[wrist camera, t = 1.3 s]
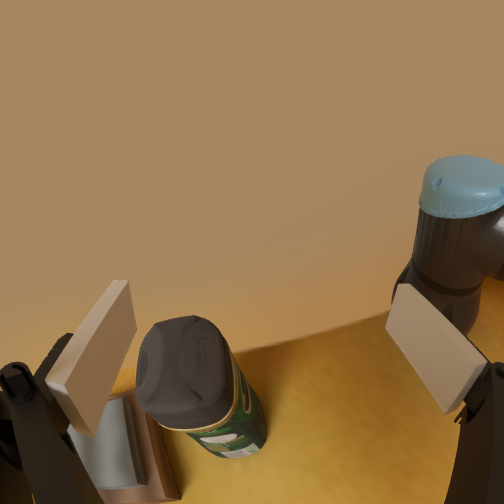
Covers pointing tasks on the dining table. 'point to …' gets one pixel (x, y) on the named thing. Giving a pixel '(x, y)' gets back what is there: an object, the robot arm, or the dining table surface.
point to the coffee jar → (198, 387)
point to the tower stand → (127, 455)
